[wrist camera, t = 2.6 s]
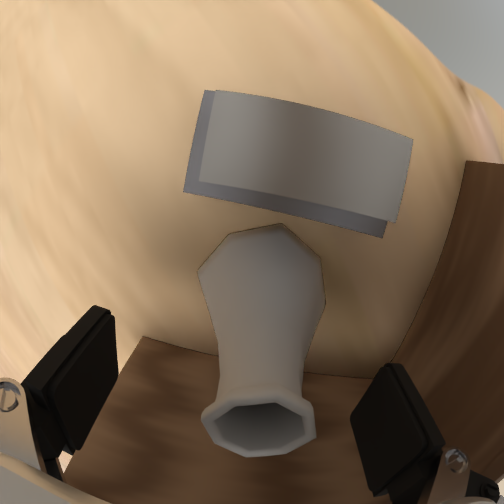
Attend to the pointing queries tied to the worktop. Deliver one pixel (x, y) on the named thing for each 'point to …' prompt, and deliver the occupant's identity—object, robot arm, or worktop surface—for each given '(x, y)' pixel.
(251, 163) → the offcut top
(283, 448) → the flask
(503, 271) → the brown wooden corner wall
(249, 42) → the worktop surface
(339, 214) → the tray
